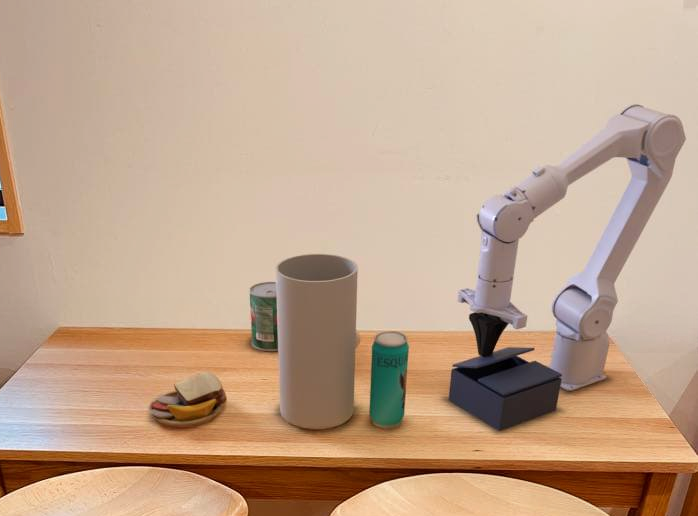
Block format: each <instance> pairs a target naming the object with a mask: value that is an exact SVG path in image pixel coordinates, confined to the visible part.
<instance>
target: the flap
mask: <svg viewBox="0 0 698 516" xmlns="http://www.w3.org/2000/svg"><path fill="white" fill-rule="evenodd" d="M533 351H535V347H518V346H517V347H516V346H509V347H508V346H507V347H505V348H501V349H498V350H494V351H493V354H492V355H490V356H486V357H482V356H480V355H478V356H475V357H472V358H470V359H469V358H468V359H465V360H463V361H459V362H456V363H452V368H457V367H464V368H480V367H483V366H486V365H489V364H492V363H496V362H499V361H502V360H505V359H508V358H511V357H515V356H518V357H519V356H520V355H524V354H527V353H530V352H533Z"/></svg>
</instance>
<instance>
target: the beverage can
mask: <svg viewBox="0 0 698 516" xmlns="http://www.w3.org/2000/svg"><path fill="white" fill-rule="evenodd" d="M373 339H374V341H373V343H372V345H371V365H370V388H369V417H370V419H371V422H372V424H373V425H374V426H375V427H377V428H379V429H383V430H385V429H386V430H387V429H389V430H390V429H395V428H397V427H398V426H399V425H401V422H402V420H403V418H404V416H405V409H406V408H405V407H406V393H407V378H408V366H409V364H408V363H409V353H410V352H409V350H410V345H409V344H408V336H407V335H406V334H405V333H403V332H400V331H394V330H386V331H382V332H378V333H376V334H375V335H374V337H373Z"/></svg>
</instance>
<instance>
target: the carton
mask: <svg viewBox="0 0 698 516" xmlns="http://www.w3.org/2000/svg"><path fill="white" fill-rule="evenodd" d="M450 371H451V373H450V381H449V389H448V391H449V392H448V399H447V400H448V401H449V402H450V403H452V404H454V405H456V406H457V407H458V408H460V409H462V410H464V411H465V412H467V413H469V414H470V415H472V416H473V417H475V418H476V419H479V420H480V421H482V422H483V423H484V424H487V425H488V426H490V427H492V429H494V430H496V431H499V432H500V431H503V430H505V429H509V428H511V427H515V426H517V425H519V424H522V423H526V422H528V421H530V420H533V419H536V418H539V417H541V416H544V415H547V414H550V413H552V412H555V411H557V406H558V400H559V395H560V391H561V387H560V386H561V380H562V379H561V378H559V377H561V376H562V374H561V373H559V372H557V371H555V370H553V369H551V368H550V366H549V367H548V366H547V365H544V364H543V363H541V362H539V361H537V360H532V361H528V360H526V359H524V358H522V357H520V356H519V355H518V356H515V357H511V358H508V359H505V360H502V361H499V362H496V363H492V364H489V365H486V366H483V367H480V368H464V367H453V368H451V370H450Z"/></svg>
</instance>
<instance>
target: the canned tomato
mask: <svg viewBox="0 0 698 516" xmlns="http://www.w3.org/2000/svg"><path fill="white" fill-rule="evenodd" d="M248 293H249V309H250V328H251V329H250V330H251V331H250V332H251V346H252V347H253V348H254V349H256V350H258V351H263V352H278V328H277V295H276V281H263V282H259V283H255V284H253V285H251V286H250V287H249V290H248Z"/></svg>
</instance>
